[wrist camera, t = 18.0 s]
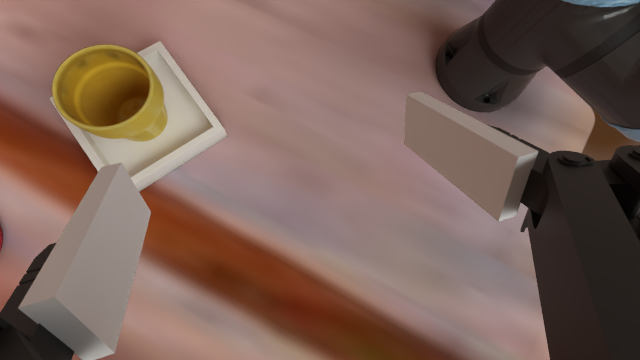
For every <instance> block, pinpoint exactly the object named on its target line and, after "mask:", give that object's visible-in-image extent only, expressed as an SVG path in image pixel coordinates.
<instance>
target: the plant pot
mask: <svg viewBox="0 0 640 360" xmlns="http://www.w3.org/2000/svg"><path fill="white" fill-rule="evenodd" d="M52 97H53V101H54V103H55V106H56V108H57V109H58V111H59V112H60V114H61V115H62V116H63V117H64V118H65V119H66V120H68V121H69V122H70V123H72V124H74V125H75V126H77V127H79V128H81V129H83V130H85V131H87V132H89V133H91V134H94V135H96V136H99V137H103V138H108V139H121V138H125V139H129V140H133V141H138V142H143V141H149V140H152V139H154V138H156V137H157V136H158V135H160V134H161V133H162V132H163V130H164V129H165V127H166V124H167V121H168V115H167V111H166V108H165V105H164V92H163V87H162V85H161V82H160V80H159V79H158V77H157V75H156V74H155V72H154V71H153V70H152V68H151V67H150V66H149V65H148V63H147V62H146V61H145V60H144V59H143V58H142V57H141V56H140V55H138V54H137V53H135V52H134V51H132V50H130V49H128V48H125V47H122V46H117V45H110V44H104V45H94V46H90V47H86V48H84V49H81V50H79V51H77V52H75V53H74V54H72V55H71V56H69V57H68V58H67V59H66V60H65V61H64V62H63V63H62V64H61V65H60V67H59V68H58V69H57V71H56V73H55V75H54V78H53V82H52Z"/></svg>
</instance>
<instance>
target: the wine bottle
mask: <svg viewBox="0 0 640 360" xmlns="http://www.w3.org/2000/svg"><path fill="white" fill-rule="evenodd" d="M2 243H3V234H2V230H1V227H0V251H1V248H2Z"/></svg>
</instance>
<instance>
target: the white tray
mask: <svg viewBox="0 0 640 360" xmlns="http://www.w3.org/2000/svg"><path fill="white" fill-rule="evenodd" d="M137 54H138V55H140V56H141V57H142V58H143V59H144V60H145V61H146V62H147V63H148V65H149V66H150V67H151V68H152V70H153V71H154V72H155V74H156V75H157V77H158V79H159V80H160V82H161V85H162V87H163V92H164V105H165V108H166V111H167V115H168V121H167V124H166V127H165V129H164V130H163V132H162V133H161V134H160V135H158V136H157V137H156V138H154V139H152V140H149V141H143V142H138V141H133V140H129V139H125V138H121V139H108V138H103V137H99V136H96V135H94V134H91V133H89V132H87V131H85V130H83V129H81V128H79V127H77V126H75V125H74V124H72V123H70V122H69V121H68V120H66V119H65V118H64V117H63V116H62V115H61V114H60V112H59V111H58V109H57V108H56V106H55V103H54V101H53V97H50V98H49V99H50V101H51V102H52V104H53V105H54V107H55V108H56V110H57V111H58V113H59V114H60V116H61V117H62V119H63V120H64V122H65V123H66V125H67V126H68V127H69V129H70V130H71V132H72V133H73V135H74V136H75V138H76V139H77V141H78V142H79V144H80V145H81V147H82V148H83V150H84V151H85V153H86V154H87V156H88V157H89V159H90V160H91V162H92V163H93V165H94V166H95V168H96V169H97V171H98V172H99V170H100V168H101V167H104V166H108V165H112V164H116V163H120V162H121V163H122V164H123V166H124V168H125V169H126V171H127V173H128V174H129V176H130V178H131V179H132V181H133V183H134V184H135V186H136V188H137V189H138V191H141V190H142V189H144V188H146V187H147V186H149V185H150V184H152V183H154V182H155V181H157V180H158V179H160V178H162V177H163V176H165V175H166V174H168V173H170V172H171V171H173V170H174V169H176V168H178V167H179V166H181V165H182V164H184V163H186V162H187V161H189V160H190V159H192V158H194V157H195V156H197V155H198V154H200V153H202V152H203V151H205V150H206V149H208V148H210V147H211V146H213V145H214V144H216V143H218V142H219V141H221V140H222V139H224V138H225V137H227V136H228V135H227V133H226V131H225V129H224V128H223V126H222V125H221V124H220V122H219V121H218V120H217V118H216V117H215V116H214V114H213V113H212V111H211V110H210V109H209V107H208V106H207V105H206V103H205V102H204V100H203V99H202V98H201V96H200V95H199V94H198V92H197V91H196V89H195V88H194V87H193V85H192V84H191V83H190V81H189V80H188V79H187V77H186V76H185V74H184V73H183V72H182V70H181V69H180V68H179V66H178V65H177V63H176V62H175V61H174V59H173V58H172V57H171V55H170V54H169V53H168V51H167V50H166V48H165V47H164V46H163V44H162V43H161V42H160V41H159V42H157V43H155V44H153V45H151V46H149V47H147V48H145V49H143V50H141V51H139V52H137Z"/></svg>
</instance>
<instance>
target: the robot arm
mask: <svg viewBox="0 0 640 360" xmlns="http://www.w3.org/2000/svg"><path fill="white" fill-rule="evenodd" d="M546 66H548V67H549V68H550V69H551V70H552V71H553V72H554V73H556V74H557V75H558V76H559V77H560V78H561V79H562V80H563V81H564V82H565V83H566V84H567V85H568V86H569V87H570V88H571V89H573V90H574V91H575V92H576V93H577V94H578V95H579V96H580V97H581V98H582V99H583V100H584V101H585V102H586V103H587V104H588V105H589V106H591V107H592V108H593V109H594V110H595V111H596V112H597V113H598V114H599V115H600V116H601V117H602V119H603V120H604V121H605V122H606V123H608V125H610V126H612V127H615V128H616V129H617V130H618V131H620V132H621V133H622V134H623V135H625V136H626V137H628V138H630V139H632V140H635V141H638V142H640V0H496V1H495V2H494V3H493V4H492V5H491V6H490V7H489V9H488V10H487V11H486V12H485V13H484V14H483V15H482V16H480V17H479V18H477V19H475V20H474V21H472V22H470V23H468V24H467V25H465V26H463V27H462V28H460V29H458V30H457V31H455V32H454V33H453V34H452V35H451V36H450V37H449V38H448V39H447V40H446V42H445V43H444V44H443V45H442V47H441V48H440V50H439V52H438V55H437V59H436V71H437V76H438V79H439V81H440V84H441V86H442V87H443V89H444V90H445V92H446V93H447V94H448V95H449V96H450V97H451V98H452V99H453V100H454V101H455V102H456V103H458V104H459V105H461V106H463V107H465V108H467V109H469V110H472V111H477V112H492V111H496V110H499V109H501V108H503V107H504V106H506V105H508V104H509V103H511V102H512V101H514V100H515V99H516V98H517V97H518V96H519V95H520V94H521V93H522V91H523V90H524V89H525V87H526V86H527V85H528V83H529V82H530V81H531V80H532V78H533V77H534V76H535V74H536V73H537V72H538V71H540V70H541V69H543V68H544V67H546ZM404 144H405V145H406V146H407V147H409V148H410V149H411V150H412V151H413V152H415V153H416V154H417V155H418V156H420V157H421V158H422V159H423V160H424V161H426V162H427V163H428V164H429V165H430V166H432V167H433V168H434V169H435V170H437V171H438V172H439V173H440V174H441V175H443V176H444V177H445V178H446V179H447V180H449V181H450V182H451V183H452V184H454V185H455V186H456V187H457V188H458V189H460V190H461V191H462V192H463V193H464V194H466V195H467V196H468V197H469V198H471V199H472V200H473V201H474V202H475V203H477V204H478V205H479V206H480V207H481V208H483V209H484V210H485V211H486V212H488V213H489V214H490V215H491V216H492V217H494V218H495V219H496V220H497V221H498V222H499V221H502V220H504V219H507V218H510V217H513V216H516V214H517V211H518V208H519V205H520V203H522V204H524V205H525V206H527V207H528V211H527V214H526V216H525V219H524V221H523V224H522V227H521V231H520V232H524V231H525V228H526V227H528V231H529V237H530V243H531V249H532V255H533V261H534V266H535V272H536V278H537V284H538V290H539V296H540V302H541V308H542V314H543V320H544V326H545V332H546V337H547V343H548V349H549V355H550V360H640V145H638V146H630V145H628V146H621V147H619V148H617V149H616V151H615V153H614V155H613V157H612V159H611V160H602V161H595V160H594V159H593V158H591V157H589V156H587V155H584V154H581V153H578V152H572V151H556V152H552V153H551V154H550V153H548V152H546V151H544V150H542V149H540V148H538V147H536V146H534V145H532V144H530V143H528V142H526V141H524V140H522V139H519V138H518V137H516V136H514V135H510V133H508V132H506V131H504V130H502V129H500V128H497V127H493V126H489V125H486V124H484V123H482V122H480V121H478V120H476V119H474V118H472V117H470V116H468V115H466V114H464V113H463V112H461V111H459V110H457V109H455V108H453V107H451V106H449V105H447V104H445V103H443V102H441V101H439V100H437V99H435V98H433V97H431V96H429V95H427V94H425V93H423V92H421V91H419V92H415V93H411V94H407V98H406V118H405V138H404ZM150 214H151V211H150V210H149V208H148V206H147V205H146V203H145V201H144V200H143V198H142V196H141V195H140V193H139V191H138V189H137V188H136V186H135V184H134V183H133V181H132V179H131V178H130V176H129V174H128V173H127V171H126V169H125V168H124V166H123V164H122V163H121V162H120V163H116V164H112V165H108V166H104V167H101V168H100V170H99V172H98V174H97V175H96V177H95V179H94V180H93V182H92V184H91V185H90V187H89V189H88V190H87V192H86V194H85V196H84V197H83V199H82V201H81V202H80V204H79V206H78V207H77V209H76V211H75V213H74V214H73V216H72V218H71V219H70V221H69V223H68V224H67V226H66V228H65V229H64V231H63V233H62V235H61V236H60V238H59V240H58V241H57V243H54V244H50V245H48V246H47V247H46V248H45V249H44V250H43V251H42V252H41V253H40V254H39V255H38V256H37V257H36V258H35V259H34V260H33V262H32V264H31V265H30V267H29V268H28V270H27V271H26V272H27V274H25V275H24V276H23V278H22V279H21V281H20V282H19V284H20V285H19V286H17V287H16V289H15V290H14V292H13V293H12V295H11V297H10V298H9V300H8V301H7V303H6V304H5V306H4V308H3V309H2V311H1V312H0V360H71V359H72V356H73V354H76V355H77V356H78V357H79V358H81V359H82V360H96V359H99V358H102V357H104V356H107V355H110V354H113V353H115V351H116V347H117V343H118V339H119V335H120V331H121V327H122V323H123V319H124V316H125V312H126V308H127V304H128V300H129V296H130V292H131V288H132V284H133V280H134V277H135V273H136V269H137V265H138V261H139V257H140V253H141V249H142V245H143V241H144V238H145V234H146V230H147V226H148V222H149V218H150Z"/></svg>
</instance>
